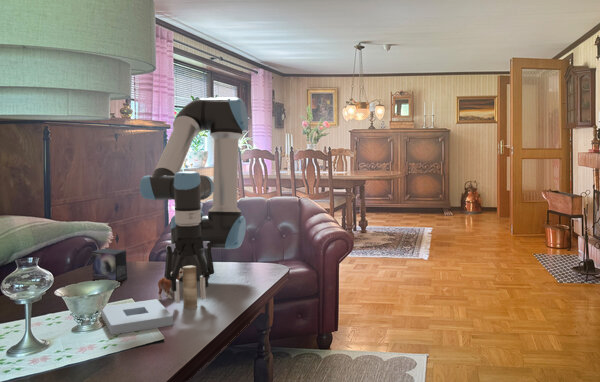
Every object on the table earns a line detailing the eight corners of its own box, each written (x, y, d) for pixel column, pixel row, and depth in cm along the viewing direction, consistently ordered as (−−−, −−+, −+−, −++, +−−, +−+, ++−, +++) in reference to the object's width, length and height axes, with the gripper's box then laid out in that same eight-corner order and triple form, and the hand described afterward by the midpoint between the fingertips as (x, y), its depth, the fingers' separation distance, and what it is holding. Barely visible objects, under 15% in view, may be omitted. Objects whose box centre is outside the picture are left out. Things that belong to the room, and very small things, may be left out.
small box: (91, 280, 202) (90, 251, 201) (104, 276, 208) (103, 247, 207) (115, 283, 198) (114, 253, 197) (128, 278, 204) (126, 249, 203)
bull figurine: (188, 290, 188) (187, 266, 187) (166, 302, 175) (165, 276, 174) (176, 289, 189) (176, 265, 188) (153, 301, 177) (152, 275, 176)
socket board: (101, 315, 163) (100, 306, 163) (157, 307, 170) (156, 299, 170) (111, 334, 147) (111, 325, 147) (173, 325, 154) (172, 316, 154)
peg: (182, 305, 172) (180, 266, 170) (194, 303, 173) (193, 265, 172) (185, 309, 168) (184, 269, 167) (198, 307, 170) (197, 267, 169)
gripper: (157, 228, 160) (159, 308, 163) (224, 223, 170) (226, 298, 172) (151, 224, 167) (153, 301, 169) (216, 219, 176) (218, 292, 179)
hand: (190, 299), depth 171 cm, fingers open, 7 cm apart
